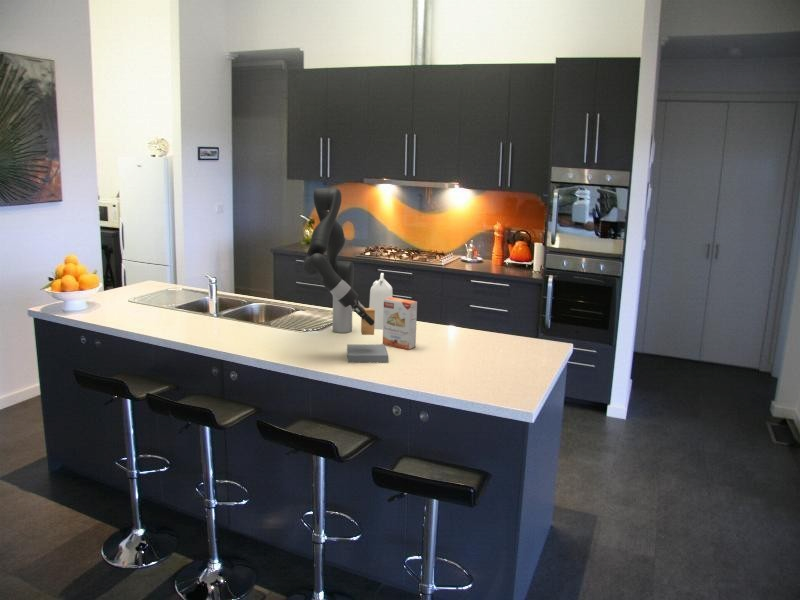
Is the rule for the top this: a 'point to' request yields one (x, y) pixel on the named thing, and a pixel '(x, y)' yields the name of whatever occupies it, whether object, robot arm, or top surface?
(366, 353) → the grey plinth
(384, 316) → the cracker box
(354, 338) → the top surface
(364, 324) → the orange block
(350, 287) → the robot arm
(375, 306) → the milk
